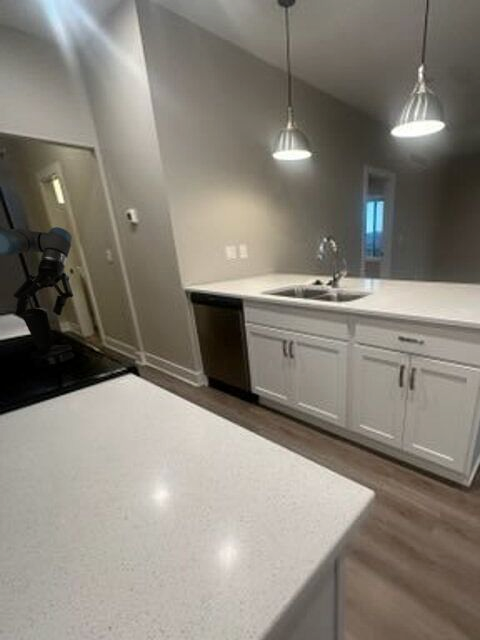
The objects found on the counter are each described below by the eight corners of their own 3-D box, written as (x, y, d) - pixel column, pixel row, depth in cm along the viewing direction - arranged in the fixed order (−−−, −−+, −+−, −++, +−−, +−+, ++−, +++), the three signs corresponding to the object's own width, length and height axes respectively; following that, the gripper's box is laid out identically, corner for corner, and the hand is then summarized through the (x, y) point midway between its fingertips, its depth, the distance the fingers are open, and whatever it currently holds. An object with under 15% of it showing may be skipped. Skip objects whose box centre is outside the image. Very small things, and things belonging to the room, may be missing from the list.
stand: (26, 367, 108) (21, 356, 106) (57, 354, 117) (54, 343, 116) (52, 370, 105) (48, 358, 103) (83, 356, 114) (79, 345, 113)
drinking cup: (44, 345, 128) (24, 291, 120) (64, 344, 128) (45, 290, 120) (28, 352, 121) (7, 296, 113) (49, 352, 120) (29, 295, 113)
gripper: (91, 269, 132) (79, 317, 124) (27, 273, 133) (12, 321, 124) (78, 256, 125) (65, 307, 117) (12, 260, 126) (-6, 310, 117)
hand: (37, 314), depth 121 cm, fingers open, 13 cm apart
